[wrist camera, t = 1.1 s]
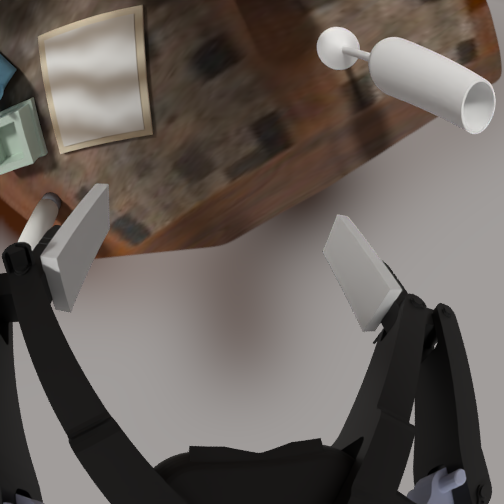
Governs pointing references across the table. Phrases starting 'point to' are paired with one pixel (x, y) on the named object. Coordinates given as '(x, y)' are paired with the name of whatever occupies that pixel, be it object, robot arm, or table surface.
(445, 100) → the champagne flute
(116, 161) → the table surface
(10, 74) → the blue pegged block
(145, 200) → the table surface
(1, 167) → the pen stand
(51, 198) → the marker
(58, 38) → the sketch pad
